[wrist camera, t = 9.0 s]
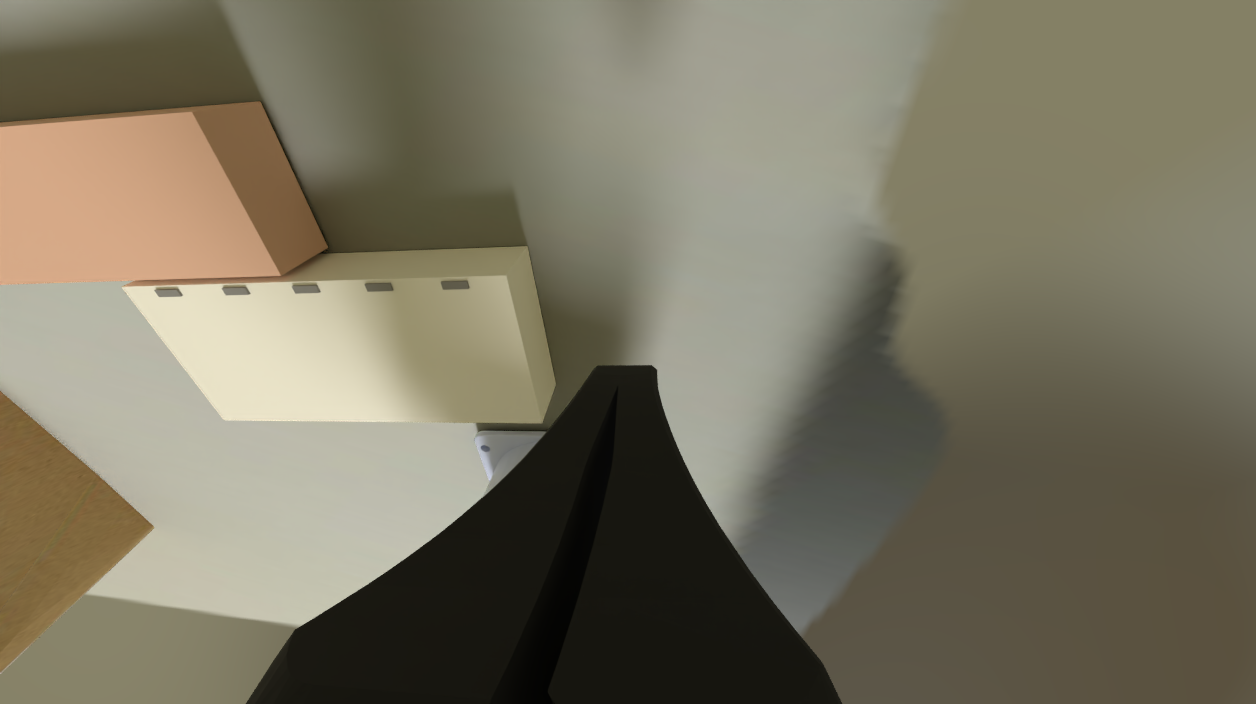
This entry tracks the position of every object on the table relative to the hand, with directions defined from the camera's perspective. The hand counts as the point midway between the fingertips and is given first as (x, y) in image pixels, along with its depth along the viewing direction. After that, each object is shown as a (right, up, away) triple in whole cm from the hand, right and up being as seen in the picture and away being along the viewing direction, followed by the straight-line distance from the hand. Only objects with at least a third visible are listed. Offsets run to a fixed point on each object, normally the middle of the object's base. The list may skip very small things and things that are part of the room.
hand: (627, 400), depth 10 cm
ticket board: (-12, +2, +11) cm, 16 cm away
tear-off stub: (-21, +8, +8) cm, 24 cm away
